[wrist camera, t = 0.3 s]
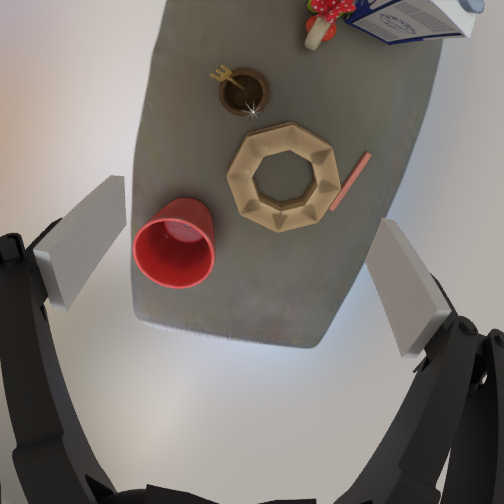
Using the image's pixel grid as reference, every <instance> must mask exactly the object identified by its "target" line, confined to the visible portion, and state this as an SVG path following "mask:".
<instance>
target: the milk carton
mask: <svg viewBox="0 0 504 504" xmlns="http://www.w3.org/2000/svg"><path fill="white" fill-rule="evenodd" d="M353 4H354V5H355V7H356V10H354V13H352V14H349V13H348V15H347V17H346V20H345V23H347V24H350V25H352V26H354V27H356V28H358V29H360V30H362V31H364V32H366V33H368V34H370V35H372V36H374V37H376V38H378V39H379V40H381V41H383V42H385V43H387V44H388V45H392V44H398V43H405V42H413V41H422V40H431V39H444V38H461V37H467V38H470V35H471V31H472V28H473V24H474V21H475V17H476V13H478V14H479V13H482V12H483V10H484V1H483V0H355V1H353Z"/></svg>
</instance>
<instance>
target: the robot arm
mask: <svg viewBox="0 0 504 504" xmlns="http://www.w3.org/2000/svg"><path fill="white" fill-rule="evenodd" d="M125 226H126V210H125V188H124V176H113V175H111V176H110V177H109V178H107V179H106V180H105V181H104V182H102V183H101V184H100V185H99V186H98V187H97V188H96V189H94V191H92V192H91V193H90V194H89V195H88V196H86V197H85V198H84V199H83V200H82V201H81V202H80V203H79V204H78V205H77V206H75V207H74V208H73V209H72V210H71V211H70V212H69V213H68V214H67V215H66V216H65V217H64V218H60V219H58V220H56V221H54V222H52V223H51V224H50V225H49V226H48V227H47V228H46V229H45V231H43V232H42V233H41V234H40V236H38V237H37V238H36V239H35V240H34V241H33V242H32V243H31V244H30V245H29V247H27V248H26V250H25V247H24V244H23V241H22V237H21V235H20V234H18V233H9V234H6V235H3V236H1V237H0V362H1V369H2V377H3V383H4V389H5V395H6V400H7V405H8V410H9V414H10V419H11V423H12V427H13V431H14V434H15V438H16V442H17V447H16V449H14V450H13V452H12V458H13V462H14V467H15V469H16V472H17V475H18V478H19V481H20V484H21V486H22V489H23V491H24V494H25V496H26V499H27V501H28V503H29V504H219V503H215V502H213V501H210V500H207V499H204V498H202V497H199V496H196V495H194V494H191V493H188V492H183V491H177V490H171V489H167V488H162V487H157V486H153V485H149V484H147V487H146V489H134V490H128V491H123V492H119V493H117V491H116V489H115V488H114V486H113V484H112V483H111V481H110V479H109V478H108V476H107V475H106V473H105V472H104V470H103V469H102V468H101V467H100V465H99V463H98V461H97V460H96V458H95V456H94V454H93V452H92V450H91V447H90V445H89V443H88V441H87V439H86V436H85V434H84V432H83V429H82V427H81V425H80V422H79V420H78V417H77V415H76V412H75V410H74V407H73V404H72V401H71V399H70V396H69V393H68V390H67V387H66V384H65V381H64V378H63V375H62V372H61V368H60V365H59V362H58V358H57V355H56V351H55V347H54V343H53V339H52V335H51V331H50V326H49V322H48V317H47V312H46V308H45V306H44V302H45V300H46V299H47V297H48V298H49V300H50V303H51V305H52V307H53V308H56V309H59V310H63V311H66V312H67V311H68V310H69V308H70V306H71V305H72V303H73V302H74V300H75V298H76V297H77V295H78V294H79V292H80V290H81V289H82V287H83V286H84V284H85V283H86V281H87V280H88V278H89V277H90V275H91V274H92V272H93V271H94V269H95V268H96V266H97V265H98V263H99V262H100V260H101V259H102V257H103V256H104V255H105V253H106V252H107V250H108V249H109V247H110V246H111V245H112V243H113V242H114V240H115V239H116V238H117V236H118V235H119V234H120V232H121V231H122V230H123V228H124V227H125ZM365 263H366V265H367V267H368V270H369V272H370V274H371V277H372V279H373V282H374V284H375V286H376V289H377V291H378V294H379V296H380V299H381V302H382V304H383V307H384V309H385V312H386V315H387V317H388V320H389V323H390V325H391V328H392V331H393V334H394V336H395V339H396V342H397V345H398V348H399V351H400V354H401V357H402V358H417V356H418V355H419V354H420V353H421V351H422V350H423V349H424V350H425V352H426V357H425V358H424V359H423V360H422V361H421V363H420V364H419V365H418V366H417V367H416V368H415V370H414V371H413V372H414V373H415V372H416V371H417V370H418V371H417V374H416V376H415V378H414V380H413V382H412V385H411V387H410V389H409V391H408V393H407V395H406V397H405V399H404V401H403V403H402V405H401V407H400V409H399V411H398V413H397V414H396V416H395V418H394V420H393V422H392V424H391V425H390V427H389V429H388V431H387V432H386V434H385V436H384V438H383V439H382V441H381V443H380V444H379V446H378V448H377V449H376V451H375V453H374V454H373V455H372V457H371V459H370V460H369V462H368V463H367V465H366V466H365V468H364V469H363V471H362V472H361V474H360V475H359V476H358V478H357V479H356V481H355V482H354V483H353V485H352V486H351V487H350V488H349V490H348V491H347V492H345V493H344V494H343V495H342V496H341V497H339V498H338V499H337V500H336V501H335V502H334V503H333V504H438V503H439V501H440V497H441V495H440V494H441V493H440V491H438V490H437V489H436V483H437V480H438V478H439V476H440V473H441V471H442V469H443V466H444V463H445V461H446V459H447V456H448V454H449V451H450V448H451V451H450V458H449V464H448V470H447V475H446V480H445V484H444V489H443V493H442V498H441V502H440V504H504V333H503V332H502V331H500V330H498V329H492V330H491V331H490V333H489V334H488V335H487V336H484V335H481V334H479V333H478V330H477V328H476V326H475V325H474V324H473V322H471V321H470V320H469V319H467V318H466V317H464V316H458V314H457V312H456V311H455V309H454V307H453V305H452V303H451V302H450V300H449V298H448V297H447V295H446V293H445V291H444V290H443V288H442V286H441V285H440V283H439V281H438V280H437V279H436V278H435V277H434V276H433V275H432V274H431V273H429V271H428V270H427V268H426V266H425V265H424V263H423V262H422V260H421V259H420V257H419V255H418V254H417V252H416V251H415V249H414V248H413V246H412V245H411V243H410V242H409V240H408V239H407V237H406V236H405V235H404V233H403V232H402V230H401V229H400V227H399V226H398V225H397V223H396V222H395V221H394V220H390V219H386V218H382V220H381V223H380V225H379V228H378V230H377V233H376V235H375V238H374V240H373V243H372V245H371V247H370V250H369V252H368V255H367V257H366V259H365ZM486 375H487V378H486V381H485V383H484V384H483V383H482V379H483V378H484V377H485V376H486ZM0 504H1V484H0ZM259 504H316V499H299V500H274V501H269V502H264V503H259Z"/></svg>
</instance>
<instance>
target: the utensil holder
mask: <svg viewBox="0 0 504 504" xmlns="http://www.w3.org/2000/svg"><path fill="white" fill-rule="evenodd" d="M221 68H222V69H224V70H225V71H226V72H225V73H223V72H222V71H220V70H219V69H217V70H216V72H217V73H219V74H220V75H221V76H219V77H218V76H217V75H215V74H213V73H212V74H210V76H212V77H213V78H215V79H217V80H218V81H220V82H221V83H220V86H219V98H220V101H221V103H222V105H223V106H224V107H225V108H226V109H227V110H228V111H229V112H231V113H233V114H235V115H239V116H247V117H248V116H249V117H250V115H253V114H254V115H255V114H256V113H257V114H258V112H259V111H261V110H262V109H263V108H264V107H265V106H266V104H267V103H268V101H269V98H270V86H269V83H268V81H267V79H266V78H265V77H264V76H263V75H262V74H261V73H260V72H258V71H256V70H254V69H250V68H240V69H236V70H233V71H231V70H229V69H228V68H227V67H225V66H224V65H222V66H221ZM263 112H264V110H263ZM263 112H261V113H263ZM255 116H256V115H255ZM256 117H257V116H256ZM258 117H259V115H258ZM258 117H257V118H258ZM252 118H253V116H252ZM250 120H251V119H250ZM251 121H252V120H251Z"/></svg>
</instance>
